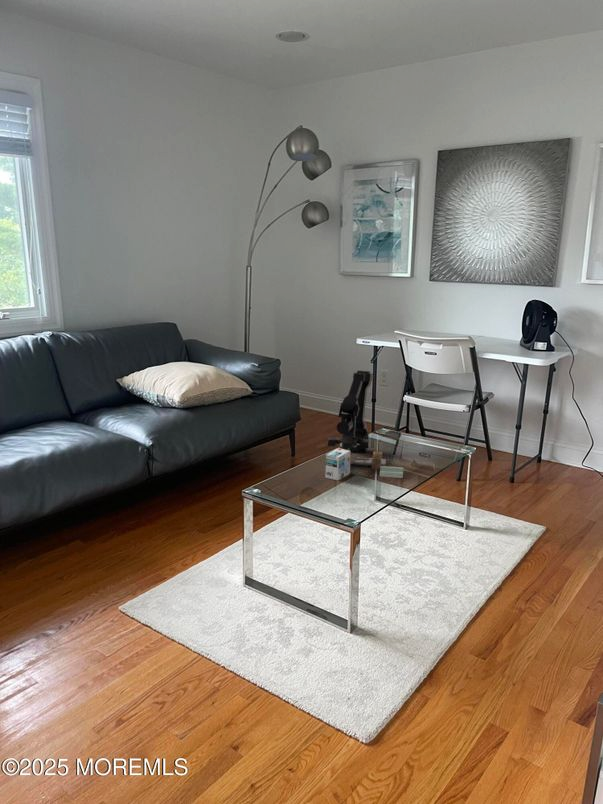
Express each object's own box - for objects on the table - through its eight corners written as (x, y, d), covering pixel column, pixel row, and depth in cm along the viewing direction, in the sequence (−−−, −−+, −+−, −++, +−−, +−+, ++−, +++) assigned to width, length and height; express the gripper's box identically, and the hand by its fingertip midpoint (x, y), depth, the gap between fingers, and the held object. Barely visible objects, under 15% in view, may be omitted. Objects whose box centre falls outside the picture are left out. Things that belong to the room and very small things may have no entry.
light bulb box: (338, 481, 261) (338, 457, 259) (324, 477, 265) (325, 454, 262) (350, 473, 270) (351, 450, 267) (337, 470, 274) (338, 447, 271)
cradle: (379, 476, 267) (379, 472, 266) (380, 469, 274) (380, 465, 274) (402, 478, 265) (403, 473, 265) (403, 471, 273) (403, 467, 272)
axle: (354, 466, 280) (354, 459, 279) (355, 462, 283) (355, 455, 282) (385, 468, 278) (385, 461, 276) (385, 464, 281) (386, 457, 280)
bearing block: (371, 468, 276) (372, 458, 274) (373, 461, 285) (373, 451, 284) (380, 469, 275) (381, 459, 274) (381, 461, 284) (382, 452, 283)
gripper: (326, 431, 272) (325, 464, 276) (368, 434, 269) (366, 467, 273) (329, 424, 282) (328, 456, 286) (370, 427, 279) (368, 459, 283)
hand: (348, 460), depth 282 cm, fingers closed
